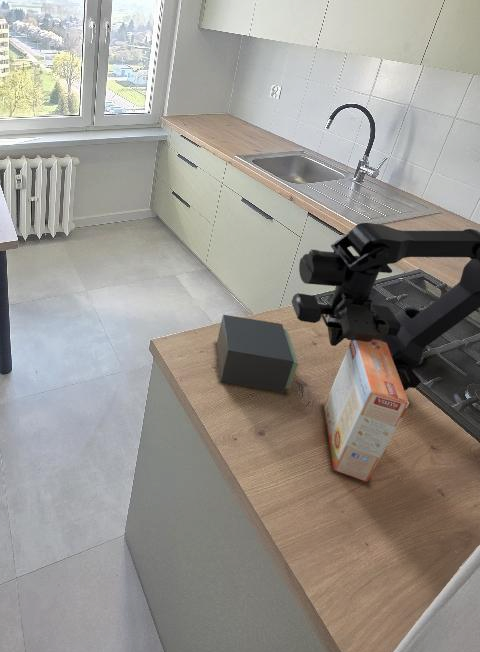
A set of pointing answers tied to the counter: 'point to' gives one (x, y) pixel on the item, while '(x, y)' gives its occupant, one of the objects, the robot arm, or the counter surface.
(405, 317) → the mug
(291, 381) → the drawer
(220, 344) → the cabinet
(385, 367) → the cracker box
